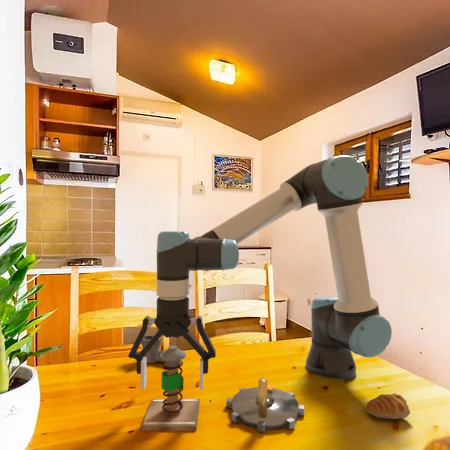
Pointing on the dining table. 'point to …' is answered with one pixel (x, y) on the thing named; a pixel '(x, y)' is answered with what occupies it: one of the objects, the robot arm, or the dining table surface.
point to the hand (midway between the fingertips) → (172, 387)
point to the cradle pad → (172, 416)
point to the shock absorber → (172, 378)
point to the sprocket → (265, 407)
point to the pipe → (152, 350)
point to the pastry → (388, 406)
